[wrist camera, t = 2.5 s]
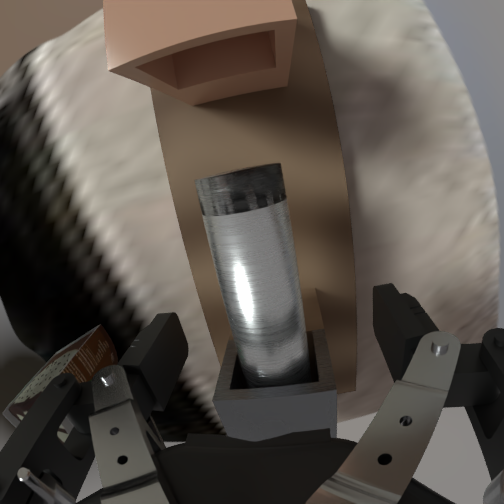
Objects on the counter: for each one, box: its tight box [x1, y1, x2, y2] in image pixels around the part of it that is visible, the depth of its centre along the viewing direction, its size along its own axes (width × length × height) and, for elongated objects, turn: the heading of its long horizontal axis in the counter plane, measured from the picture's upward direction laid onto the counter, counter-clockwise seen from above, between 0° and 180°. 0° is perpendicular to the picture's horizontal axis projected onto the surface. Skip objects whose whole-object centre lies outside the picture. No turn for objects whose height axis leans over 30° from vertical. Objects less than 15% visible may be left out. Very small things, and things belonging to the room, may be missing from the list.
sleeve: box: [212, 329, 337, 442], centre depth 14 cm, size 9×5×4 cm, turn 11°
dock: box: [150, 0, 357, 394], centre depth 15 cm, size 28×10×6 cm, turn 11°
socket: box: [103, 0, 297, 106], centre depth 10 cm, size 5×5×9 cm
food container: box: [3, 324, 118, 444], centre depth 19 cm, size 12×6×10 cm, turn 123°
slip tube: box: [194, 163, 312, 389], centre depth 13 cm, size 17×3×3 cm, turn 11°
